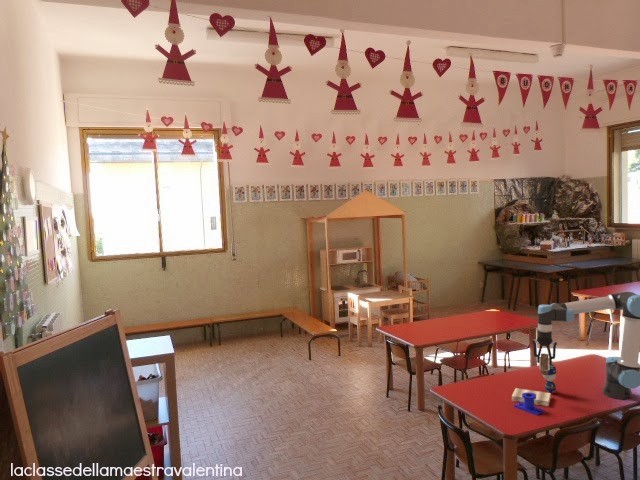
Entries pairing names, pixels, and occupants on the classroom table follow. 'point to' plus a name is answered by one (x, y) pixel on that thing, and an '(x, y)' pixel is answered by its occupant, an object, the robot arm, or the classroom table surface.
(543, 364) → the peg
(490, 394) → the classroom table surface
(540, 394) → the board
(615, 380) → the robot arm
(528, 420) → the classroom table surface
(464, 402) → the classroom table surface
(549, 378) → the blue tall vessel
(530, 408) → the mount
